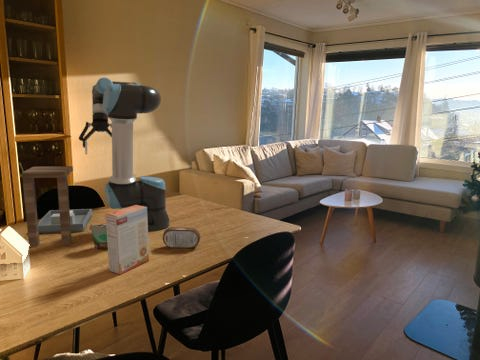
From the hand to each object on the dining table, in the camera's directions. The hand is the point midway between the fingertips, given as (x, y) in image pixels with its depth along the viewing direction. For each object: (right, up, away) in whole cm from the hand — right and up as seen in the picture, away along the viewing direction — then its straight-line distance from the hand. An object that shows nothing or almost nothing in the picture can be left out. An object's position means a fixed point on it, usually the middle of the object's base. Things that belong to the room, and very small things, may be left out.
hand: (100, 153), depth 181 cm
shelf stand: (-7, -38, -31) cm, 50 cm away
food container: (+18, -41, -38) cm, 58 cm away
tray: (-12, -34, -11) cm, 38 cm away
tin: (+47, -41, -35) cm, 71 cm away
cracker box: (+31, -44, -53) cm, 75 cm away
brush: (-12, -33, -12) cm, 37 cm away
